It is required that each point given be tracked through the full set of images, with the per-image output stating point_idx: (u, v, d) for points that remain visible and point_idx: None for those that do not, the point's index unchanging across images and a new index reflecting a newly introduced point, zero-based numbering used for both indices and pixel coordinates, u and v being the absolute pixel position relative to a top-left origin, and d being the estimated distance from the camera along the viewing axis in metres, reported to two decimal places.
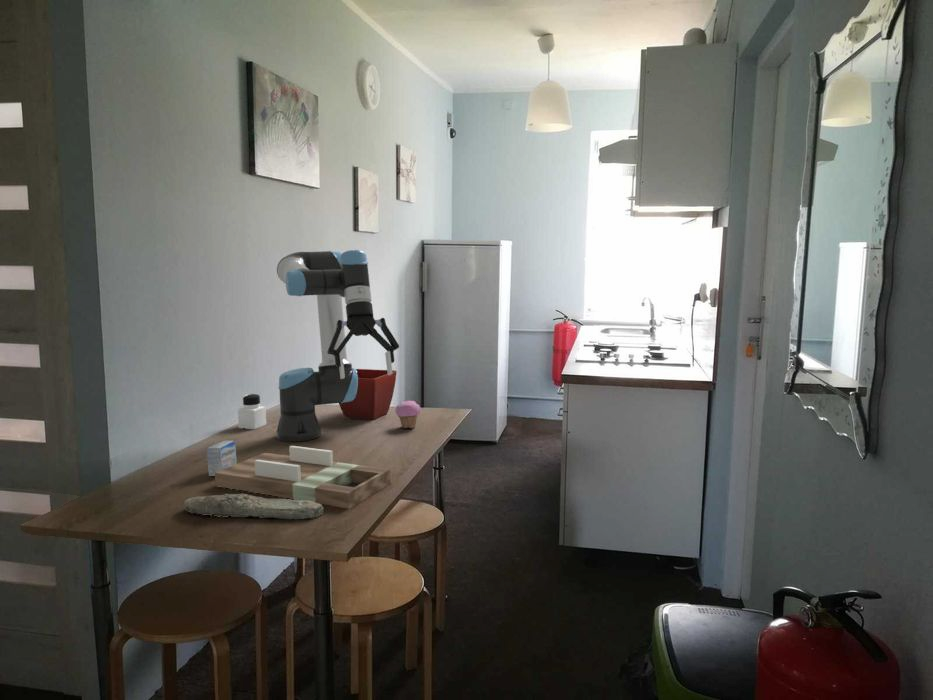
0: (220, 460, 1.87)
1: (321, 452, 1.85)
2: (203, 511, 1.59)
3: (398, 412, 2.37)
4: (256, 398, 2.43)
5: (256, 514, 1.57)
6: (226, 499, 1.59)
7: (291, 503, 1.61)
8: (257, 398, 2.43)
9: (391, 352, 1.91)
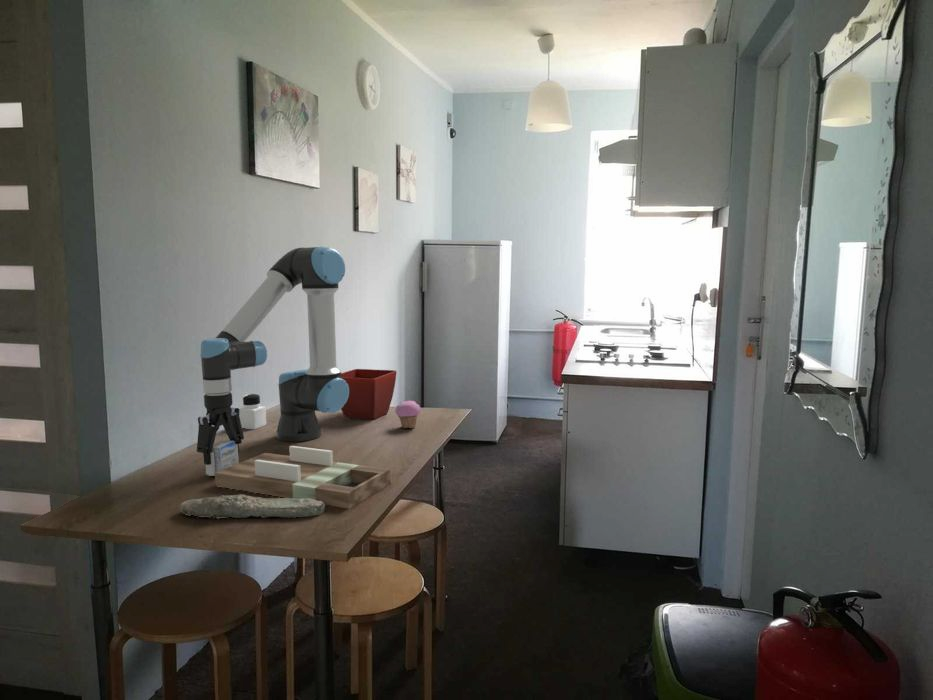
0: (220, 460, 1.87)
1: (321, 452, 1.85)
2: (202, 513, 1.57)
3: (398, 412, 2.37)
4: (256, 398, 2.43)
5: (258, 514, 1.57)
6: (225, 500, 1.58)
7: (292, 502, 1.61)
8: (257, 398, 2.43)
9: None
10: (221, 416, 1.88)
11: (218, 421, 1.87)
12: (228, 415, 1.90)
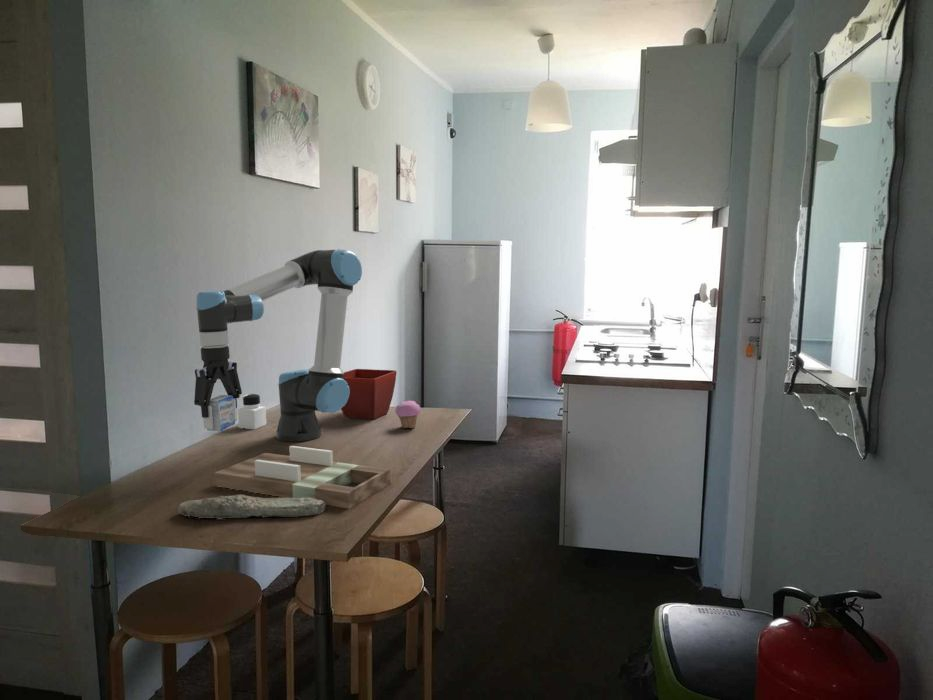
0: (218, 414, 1.86)
1: (321, 452, 1.85)
2: (202, 514, 1.57)
3: (398, 412, 2.37)
4: (256, 398, 2.43)
5: (259, 513, 1.57)
6: (226, 500, 1.58)
7: (292, 501, 1.62)
8: (257, 398, 2.43)
9: None
10: (218, 369, 1.86)
11: (215, 374, 1.86)
12: (225, 368, 1.89)
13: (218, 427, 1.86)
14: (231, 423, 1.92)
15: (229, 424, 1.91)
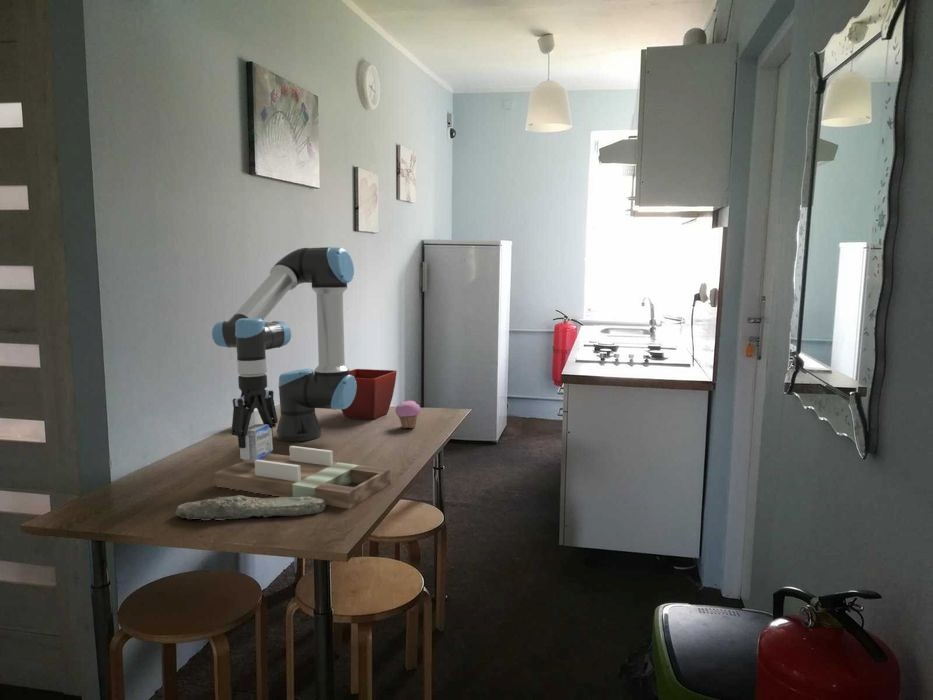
0: (255, 444, 1.81)
1: (321, 452, 1.85)
2: (202, 515, 1.56)
3: (398, 412, 2.37)
4: None
5: (260, 513, 1.57)
6: (226, 501, 1.57)
7: (292, 500, 1.62)
8: None
9: None
10: (256, 398, 1.82)
11: (253, 403, 1.81)
12: (263, 397, 1.84)
13: (255, 458, 1.82)
14: (267, 453, 1.87)
15: (265, 454, 1.86)
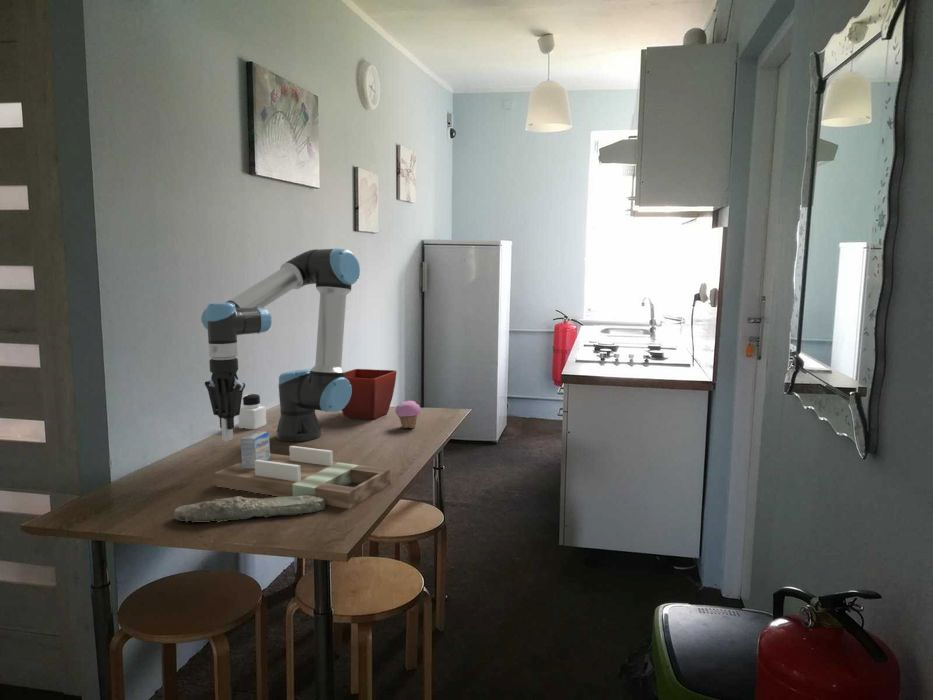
0: (255, 452, 1.81)
1: (321, 452, 1.85)
2: (202, 518, 1.54)
3: (398, 412, 2.37)
4: (256, 398, 2.43)
5: (262, 514, 1.57)
6: (226, 502, 1.56)
7: (292, 499, 1.63)
8: (257, 398, 2.43)
9: (228, 419, 1.87)
10: None
11: None
12: None
13: (254, 466, 1.82)
14: (266, 460, 1.87)
15: None
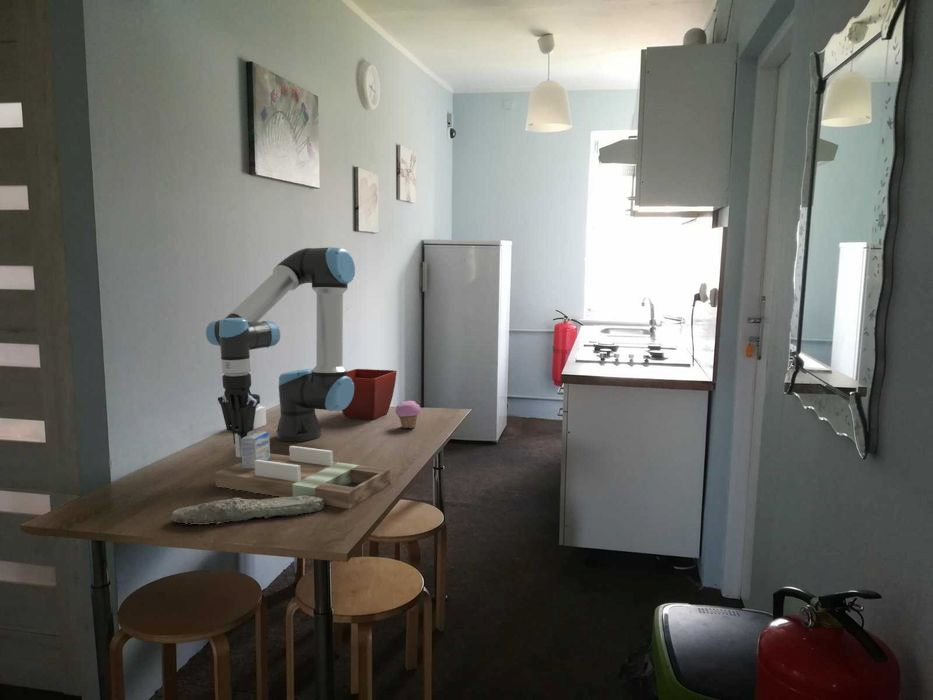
0: (255, 452, 1.81)
1: (321, 452, 1.85)
2: (202, 520, 1.53)
3: (398, 412, 2.37)
4: (256, 398, 2.43)
5: (262, 514, 1.57)
6: (225, 504, 1.56)
7: (291, 500, 1.63)
8: (257, 398, 2.43)
9: (242, 435, 1.86)
10: None
11: None
12: None
13: (254, 466, 1.82)
14: (266, 460, 1.87)
15: None
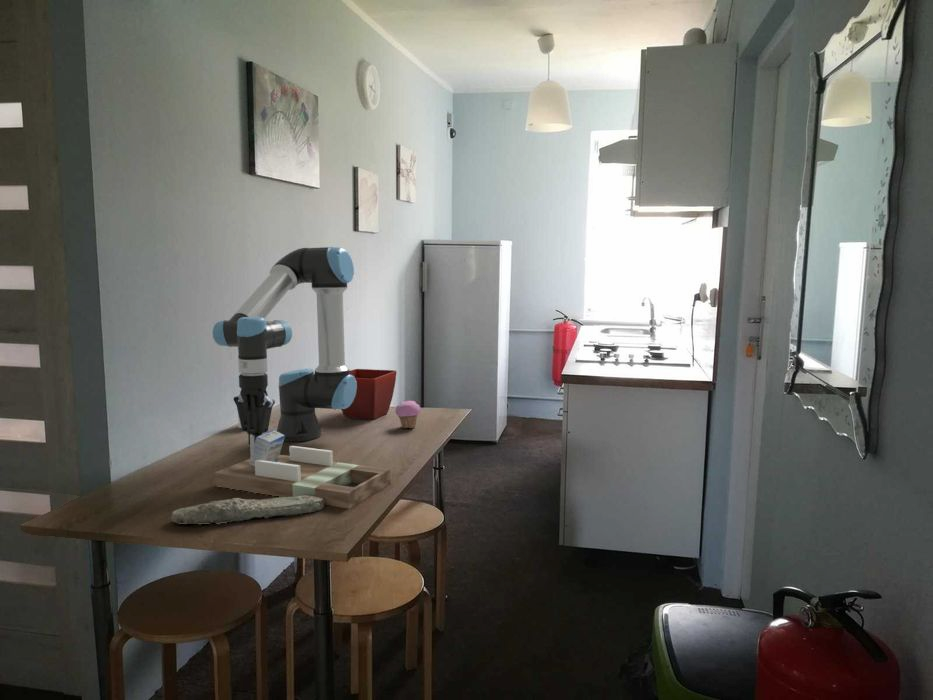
0: (265, 454, 1.80)
1: (321, 452, 1.85)
2: (202, 520, 1.53)
3: (398, 412, 2.37)
4: None
5: (262, 514, 1.57)
6: (225, 504, 1.55)
7: (291, 500, 1.63)
8: None
9: (256, 436, 1.84)
10: None
11: None
12: None
13: None
14: None
15: None
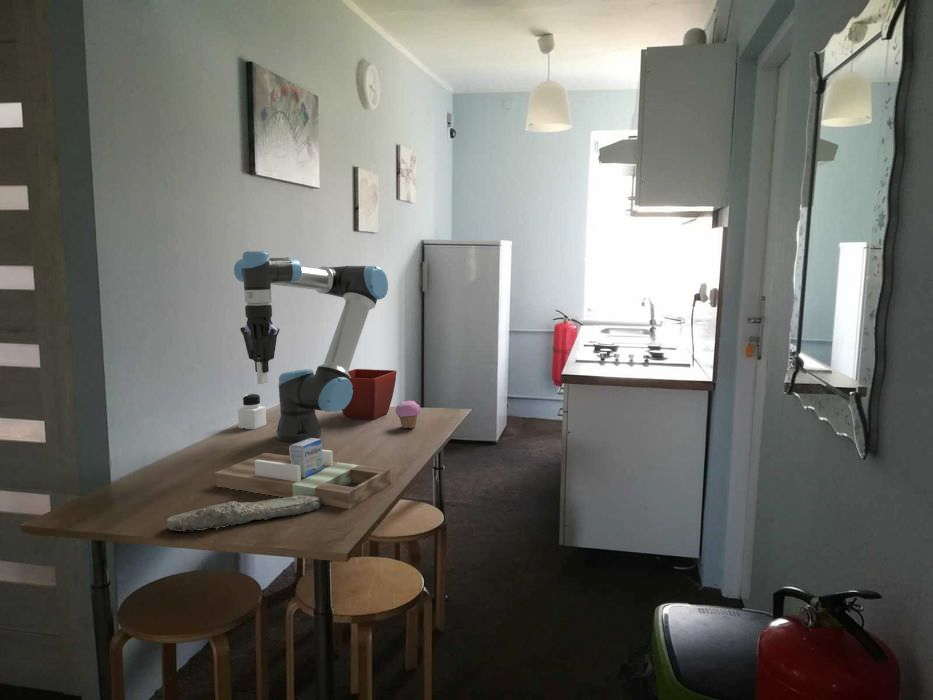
0: (303, 460, 1.73)
1: None
2: (201, 525, 1.50)
3: (398, 412, 2.37)
4: (256, 398, 2.43)
5: (262, 516, 1.55)
6: (224, 508, 1.53)
7: (287, 500, 1.62)
8: (257, 398, 2.43)
9: (263, 363, 1.97)
10: None
11: None
12: None
13: (303, 474, 1.74)
14: (318, 469, 1.79)
15: (315, 470, 1.78)
